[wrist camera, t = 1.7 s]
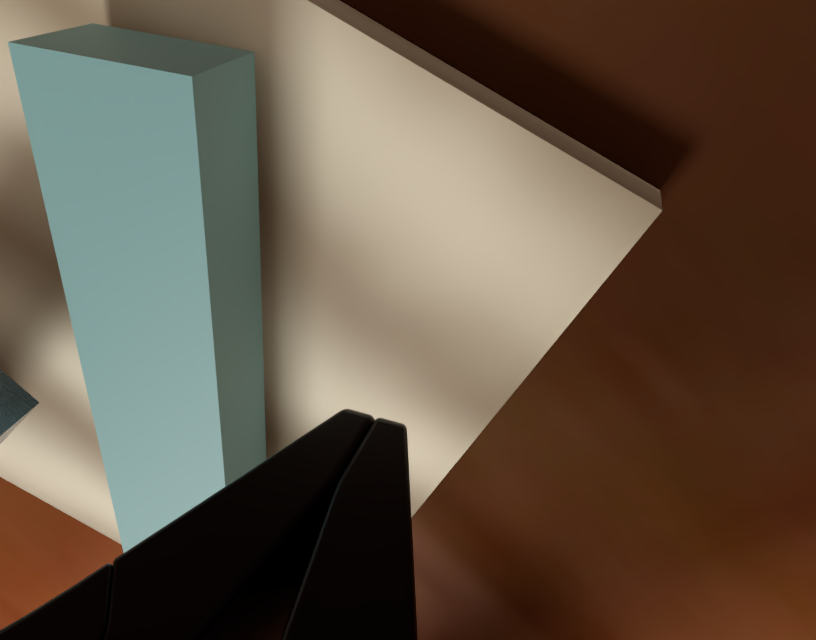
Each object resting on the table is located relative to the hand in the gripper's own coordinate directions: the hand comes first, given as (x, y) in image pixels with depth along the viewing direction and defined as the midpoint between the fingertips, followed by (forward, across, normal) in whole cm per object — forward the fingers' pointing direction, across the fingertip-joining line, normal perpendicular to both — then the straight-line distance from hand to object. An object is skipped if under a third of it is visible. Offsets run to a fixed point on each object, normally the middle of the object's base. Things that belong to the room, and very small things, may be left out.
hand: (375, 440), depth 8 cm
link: (+8, +7, +8) cm, 13 cm away
